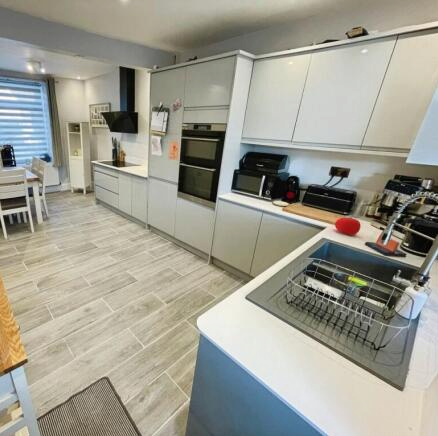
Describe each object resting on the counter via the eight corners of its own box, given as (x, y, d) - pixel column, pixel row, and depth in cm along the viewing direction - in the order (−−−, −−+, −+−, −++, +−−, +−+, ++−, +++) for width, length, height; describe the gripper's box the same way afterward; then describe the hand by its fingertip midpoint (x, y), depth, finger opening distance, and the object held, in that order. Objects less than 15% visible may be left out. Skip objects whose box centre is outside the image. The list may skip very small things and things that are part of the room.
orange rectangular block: (395, 252, 138) (400, 242, 136) (392, 251, 138) (397, 242, 136) (378, 243, 149) (383, 234, 146) (376, 243, 149) (380, 234, 146)
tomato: (351, 238, 159) (357, 222, 155) (329, 230, 171) (334, 215, 167) (361, 235, 165) (367, 220, 161) (339, 228, 176) (344, 213, 172)
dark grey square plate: (409, 257, 137) (410, 254, 136) (382, 255, 137) (384, 252, 136) (385, 245, 151) (386, 242, 150) (361, 243, 151) (362, 240, 151)
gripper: (457, 234, 135) (415, 231, 136) (432, 225, 147) (393, 222, 148) (464, 221, 133) (421, 218, 133) (438, 213, 145) (399, 211, 145)
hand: (406, 220), depth 140 cm, fingers closed
